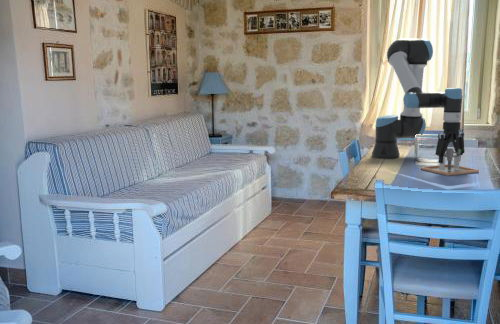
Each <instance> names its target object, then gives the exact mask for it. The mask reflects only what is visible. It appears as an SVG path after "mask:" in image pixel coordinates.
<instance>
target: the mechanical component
mask: <svg viewBox="0 0 500 324" xmlns="http://www.w3.org/2000/svg"><path fill="white" fill-rule="evenodd" d="M438 153H439V152H438ZM460 153H462V149H458V151H457V152H455V149H454V148H448V147H447V149H446V152H445V154H444V156H445V158H446V161H447V164H448V170H451V164H452V161H453V158H454V157H459V156H460ZM457 154H458V155H457ZM454 155H457V156H454Z"/></svg>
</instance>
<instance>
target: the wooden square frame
mask: <svg viewBox="0 0 500 324" xmlns="http://www.w3.org/2000/svg"><path fill="white" fill-rule="evenodd" d="M421 169H422V170H421ZM420 170H421V171H424V170H425V171H426V172H429V173H434V174H438V175H442V176H446V177H447V176H448V177H451V176H458V175H459V176H460V175H469V174H479V171H480V170H479V169H477V168H471V167H467V166H462V165H459V169H456V168H454V164H452V163H451V170H448V163H445V170H439V164H437V165H428V166H427V165H425V166H420Z"/></svg>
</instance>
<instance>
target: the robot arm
mask: <svg viewBox="0 0 500 324" xmlns="http://www.w3.org/2000/svg"><path fill="white" fill-rule="evenodd" d="M433 53H434V50H433V45H432V43H431V41H430V40H429V39H427V38H398V39H396V40H394V41H393V42H392V43H391V44H390V45H389V47H388V49H387V52H386V58H387V61H388V64H389V65H390V66H391V67H392V68H393V70H394V73H395V74H396V76H397V79H398V81H399V83H400V85H401V87H402V90H403V92H404V95H403V100H402V101H403V111H401V113H400V115H397V114H391V115H389V114H388V115H382V116H379V117H377V118H376V119H375V141H374V146H373V150H372V152H371V157H372V158H373V159H381V160H396V159H399V158H400V156H401V155H400V150H399V147H398V139H414V138H415V135H416V134H421V135H422V136H423V135H424V133H425V131H426V127H427V124H426V123H427V122H426V118H424V117H423V113H421V109H435V108H440V109H441V108H443V117H442V118H443V120H442V121H443V122H442V129H443V133H439V134H437V143H436V150H435V153H434V154H435V155H436V156H438V165H439V170H445V165H446V157H445V156H444V154H445V153H446V149H448V147H449V144H451V143H452V145H453V149H454V152H457V151H458V149H462V153H460V156H459V157H453V165H454V168H456V169H459V166H460V162H461V156H463V155H464V154H465V152H466V151H465V142H464V137H465V133H464V132H460V130H461V122H460V121H461V118H462V106H463V105H462V104H463V89H462V88H460V87H447V88H445V89H444V91H430V92H429V91H424V92H423V79H424V68H425V67H427V65H428V62H429V61H431V60H432V58H433V56H434V55H433ZM438 152H439V153H438ZM457 155H458V154H453V156H457Z"/></svg>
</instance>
